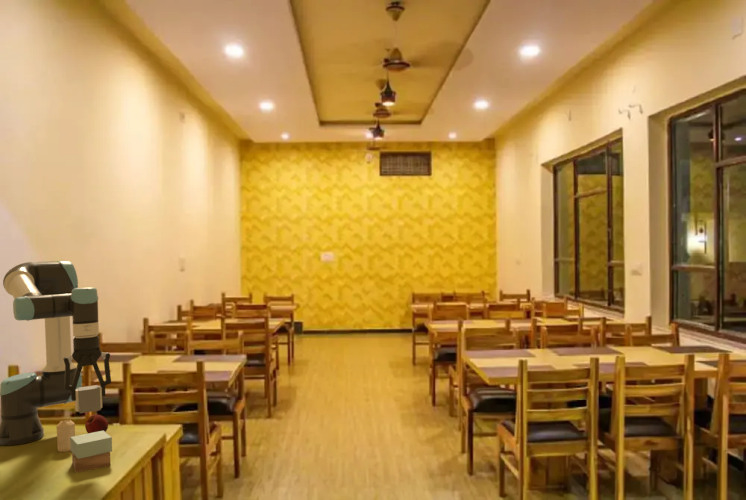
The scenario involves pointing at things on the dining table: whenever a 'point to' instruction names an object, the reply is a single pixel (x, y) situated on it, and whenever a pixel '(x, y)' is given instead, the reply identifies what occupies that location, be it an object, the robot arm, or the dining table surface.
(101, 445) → the tower top
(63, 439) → the beige bottle
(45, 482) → the dining table surface
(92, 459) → the tower base
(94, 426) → the apple
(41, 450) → the dining table surface
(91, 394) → the block
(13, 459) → the dining table surface
